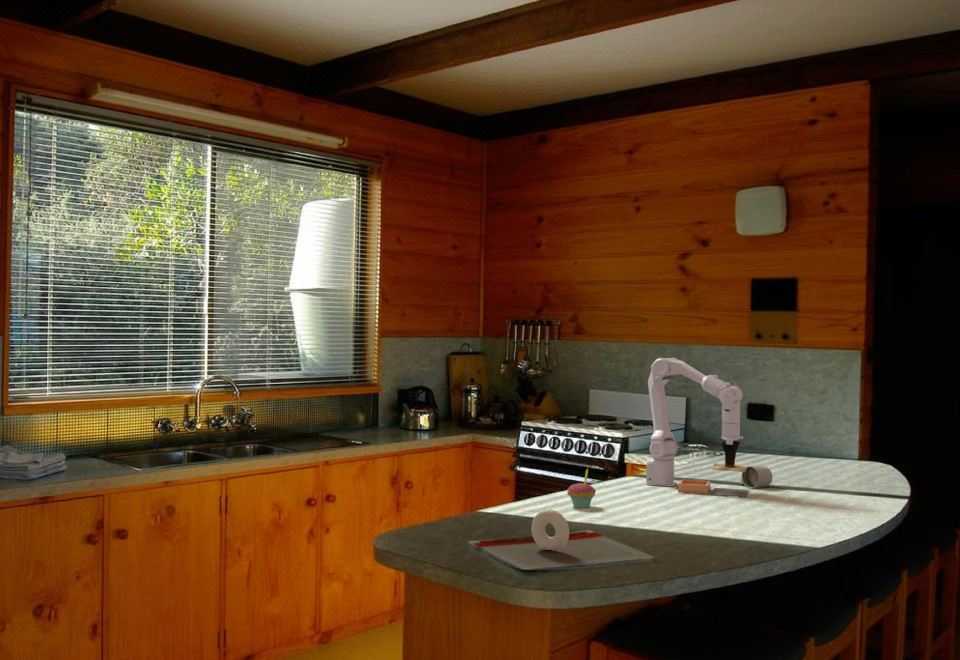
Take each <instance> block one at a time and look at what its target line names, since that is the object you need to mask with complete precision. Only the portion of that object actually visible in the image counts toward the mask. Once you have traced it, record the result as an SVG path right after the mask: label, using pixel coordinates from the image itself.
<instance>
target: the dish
mask: <svg viewBox="0 0 960 660" xmlns="http://www.w3.org/2000/svg"><path fill="white" fill-rule="evenodd" d="M709 491H710V492H711V480H698V479H684V478H682V479H680V480H679V482H678V483H677V493H678V492H684V493H683V494H689V493H697V494H696V495H704V494H708V493H710V492H709ZM708 495H709V494H708Z"/></svg>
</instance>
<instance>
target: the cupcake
mask: <svg viewBox="0 0 960 660" xmlns="http://www.w3.org/2000/svg"><path fill="white" fill-rule="evenodd" d="M588 473H589V467H587V469H586V470H585V474H584V475H585V476H584V480H583V482H579V483H578V482H577V483H572V484H571V485H570V486H569V487H567V490H566V491H567V493H566V494H567V495H568V496H569V497H570V499H571V502H572V506H573V507H574V508H577V509H588V508H589V507H591V506H590V505H591V503H592V500H593V498H594V497H595V496H596V492H597V490H596V489H595V487H593V486H592V485H590V484H588V483H587V481H588V480H587V479H588Z"/></svg>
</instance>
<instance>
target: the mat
mask: <svg viewBox="0 0 960 660" xmlns="http://www.w3.org/2000/svg"><path fill="white" fill-rule="evenodd" d="M747 494H749V489H740V488H738V489H737V488H723V487H714V489H713V490H712V492H711V496H713V495H721V496H720V497H728V496H738V497H737V498H742V497H747V498H748V495H747Z"/></svg>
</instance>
